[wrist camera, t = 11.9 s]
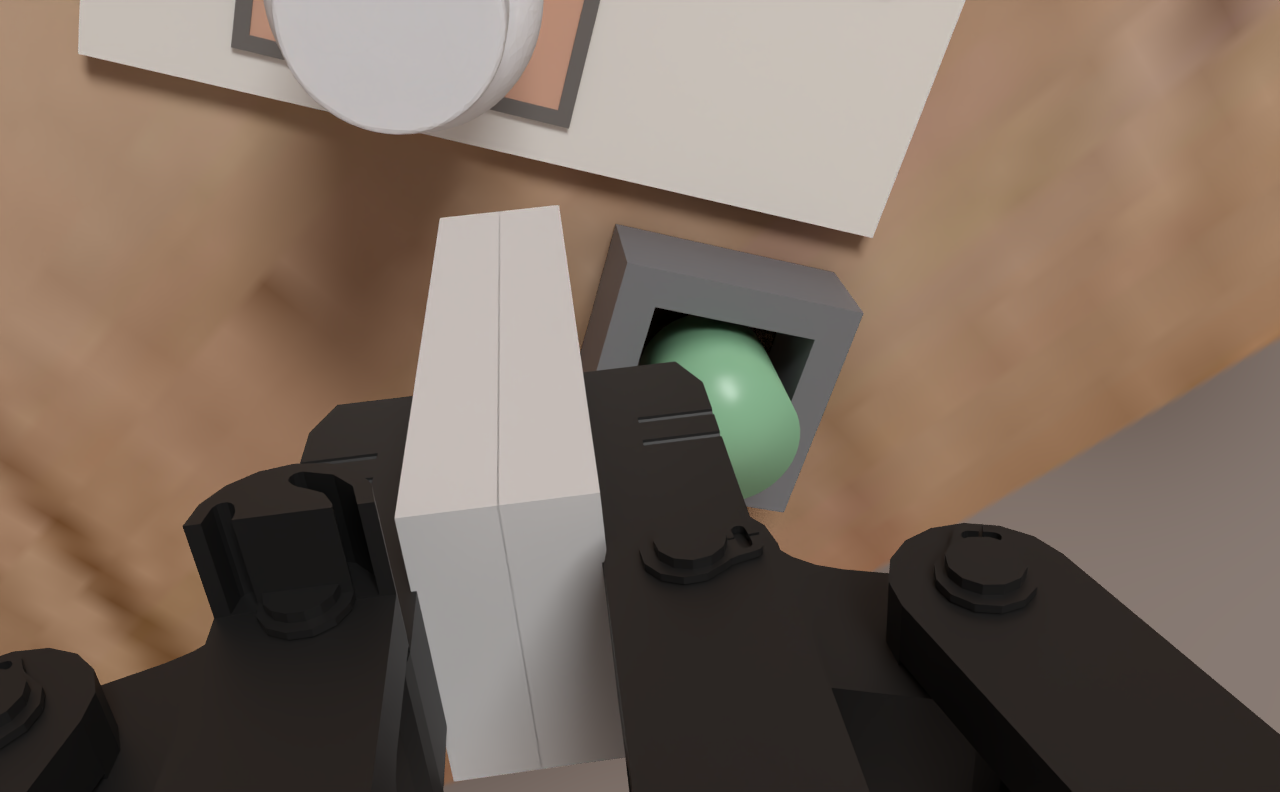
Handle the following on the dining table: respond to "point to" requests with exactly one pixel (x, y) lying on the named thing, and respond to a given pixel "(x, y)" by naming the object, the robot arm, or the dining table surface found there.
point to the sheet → (642, 90)
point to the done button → (735, 394)
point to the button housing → (728, 319)
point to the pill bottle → (406, 57)
